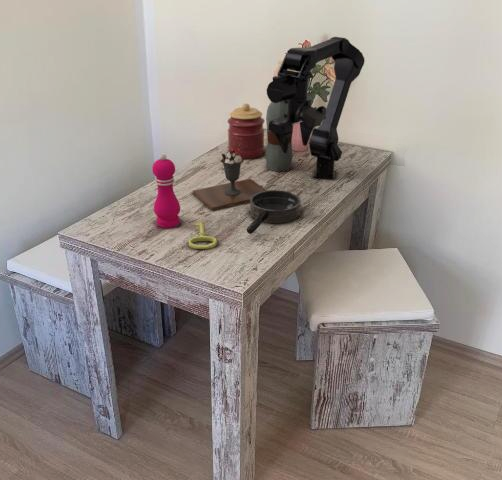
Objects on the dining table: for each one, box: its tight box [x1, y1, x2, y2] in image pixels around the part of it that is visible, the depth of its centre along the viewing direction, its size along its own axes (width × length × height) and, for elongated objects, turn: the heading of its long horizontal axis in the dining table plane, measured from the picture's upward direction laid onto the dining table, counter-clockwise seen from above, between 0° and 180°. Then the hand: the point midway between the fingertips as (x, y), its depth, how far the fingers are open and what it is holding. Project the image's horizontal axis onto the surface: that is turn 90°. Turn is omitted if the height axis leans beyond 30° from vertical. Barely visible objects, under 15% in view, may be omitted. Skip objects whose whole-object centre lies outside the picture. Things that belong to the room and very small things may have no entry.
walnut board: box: [192, 178, 268, 211], centre depth 176 cm, size 20×14×1 cm
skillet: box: [249, 189, 302, 224], centre depth 164 cm, size 14×14×4 cm
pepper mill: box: [151, 153, 181, 229], centre depth 155 cm, size 7×7×20 cm
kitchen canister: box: [227, 103, 266, 160], centre depth 203 cm, size 13×13×18 cm
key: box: [188, 220, 218, 250], centre depth 152 cm, size 7×12×2 cm, turn 23°
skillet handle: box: [246, 211, 268, 235], centre depth 154 cm, size 12×2×2 cm, turn 156°
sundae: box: [220, 144, 244, 195], centre depth 172 cm, size 7×7×15 cm
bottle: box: [265, 74, 294, 172], centre depth 188 cm, size 9×9×30 cm
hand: (295, 149), depth 173 cm, fingers open, 9 cm apart
